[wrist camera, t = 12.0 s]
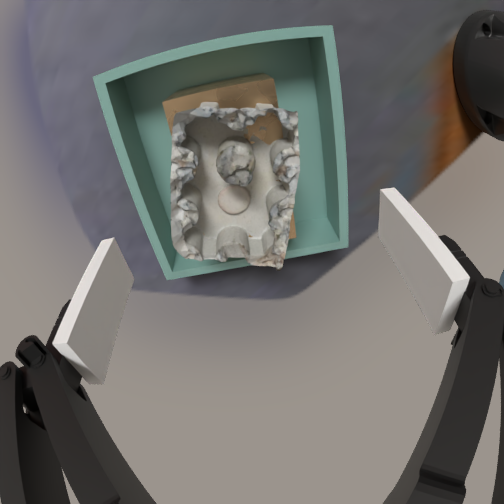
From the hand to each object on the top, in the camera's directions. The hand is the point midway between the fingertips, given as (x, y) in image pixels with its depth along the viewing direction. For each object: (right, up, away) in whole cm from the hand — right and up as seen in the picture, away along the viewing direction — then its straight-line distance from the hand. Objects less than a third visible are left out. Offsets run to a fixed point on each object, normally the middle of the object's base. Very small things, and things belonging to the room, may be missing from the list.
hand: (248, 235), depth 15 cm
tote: (-1, +8, +11) cm, 14 cm away
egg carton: (-1, +4, +6) cm, 8 cm away
